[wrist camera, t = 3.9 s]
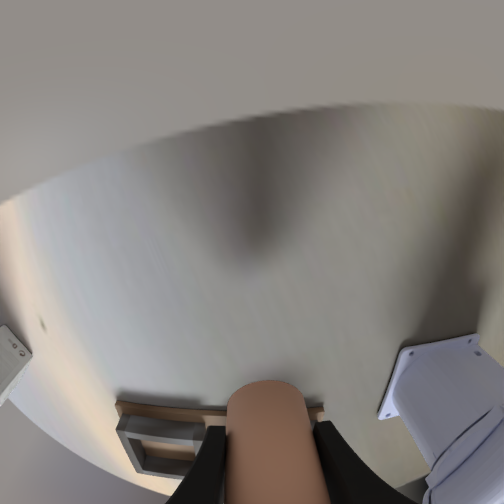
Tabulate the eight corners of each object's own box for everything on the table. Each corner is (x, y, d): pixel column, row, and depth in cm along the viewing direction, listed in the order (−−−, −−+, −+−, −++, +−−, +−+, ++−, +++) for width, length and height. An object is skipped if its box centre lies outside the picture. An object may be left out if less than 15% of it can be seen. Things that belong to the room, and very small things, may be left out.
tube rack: (322, 406, 21) (346, 480, 13) (307, 462, 23) (320, 522, 16) (116, 400, 20) (87, 467, 13) (140, 457, 22) (124, 514, 15)
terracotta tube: (308, 378, 11) (352, 523, 5) (299, 428, 12) (325, 550, 5) (225, 380, 11) (218, 536, 4) (228, 430, 12) (226, 557, 5)
